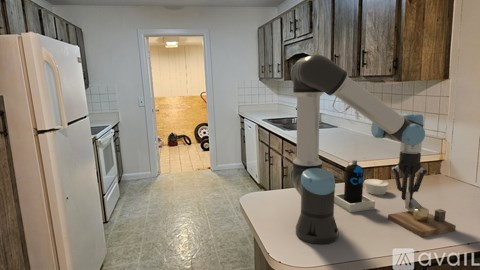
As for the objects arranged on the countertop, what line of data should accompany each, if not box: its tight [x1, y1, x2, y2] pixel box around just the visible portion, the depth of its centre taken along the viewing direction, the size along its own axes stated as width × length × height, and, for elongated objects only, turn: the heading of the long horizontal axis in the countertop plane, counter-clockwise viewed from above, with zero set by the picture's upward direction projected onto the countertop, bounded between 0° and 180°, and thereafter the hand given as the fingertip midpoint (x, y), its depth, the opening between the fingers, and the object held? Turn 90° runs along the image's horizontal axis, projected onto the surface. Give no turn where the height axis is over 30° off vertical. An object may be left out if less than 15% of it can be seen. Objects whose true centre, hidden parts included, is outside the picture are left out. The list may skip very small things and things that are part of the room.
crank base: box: [387, 208, 457, 238], centre depth 119 cm, size 16×16×6 cm
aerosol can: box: [343, 159, 365, 204], centre depth 138 cm, size 8×8×20 cm
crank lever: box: [406, 197, 430, 222], centre depth 124 cm, size 16×5×4 cm, turn 171°
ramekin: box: [363, 178, 389, 196], centre depth 156 cm, size 11×11×5 cm
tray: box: [334, 192, 376, 214], centre depth 139 cm, size 13×13×4 cm
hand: (406, 207), depth 128 cm, fingers closed
